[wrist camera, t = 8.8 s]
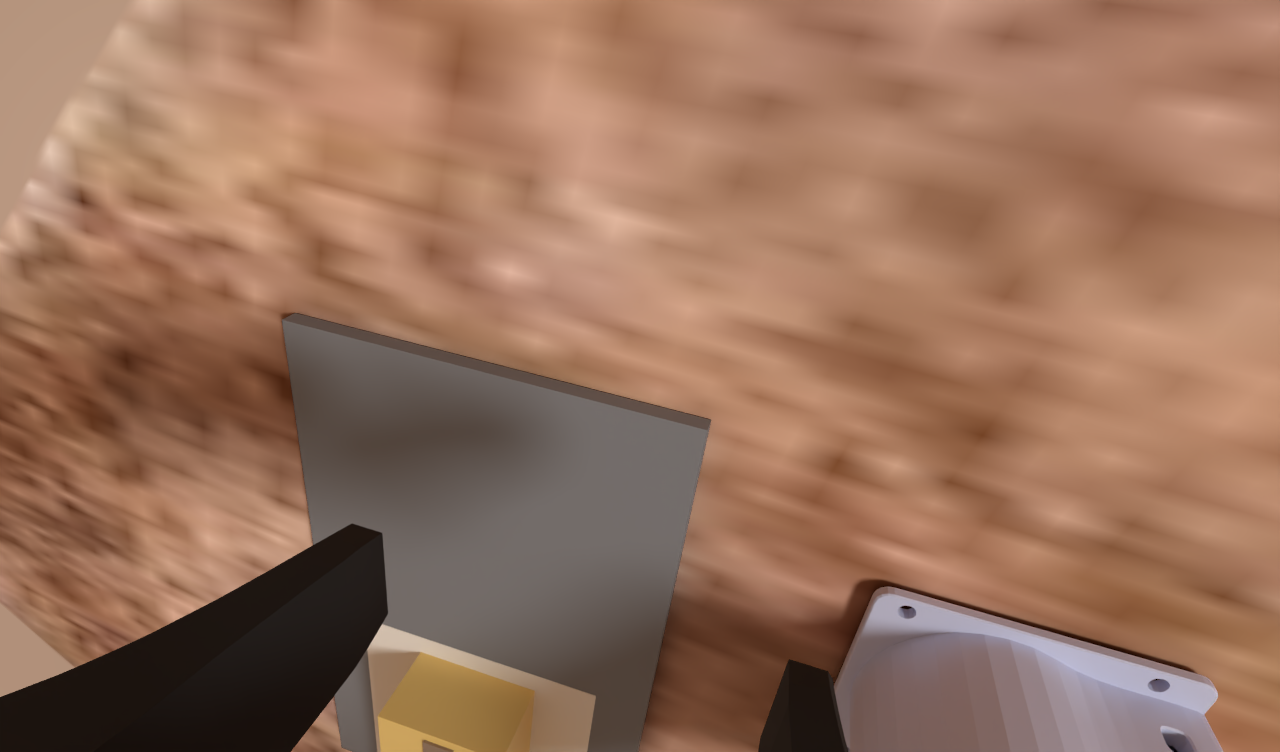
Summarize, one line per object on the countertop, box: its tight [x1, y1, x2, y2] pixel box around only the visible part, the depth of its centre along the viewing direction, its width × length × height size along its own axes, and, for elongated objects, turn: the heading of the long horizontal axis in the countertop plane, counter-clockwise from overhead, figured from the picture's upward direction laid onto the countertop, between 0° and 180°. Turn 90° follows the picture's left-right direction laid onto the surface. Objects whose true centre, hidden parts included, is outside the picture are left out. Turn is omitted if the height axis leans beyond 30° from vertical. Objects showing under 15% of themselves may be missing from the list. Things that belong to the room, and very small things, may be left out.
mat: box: [282, 313, 711, 752], centre depth 26 cm, size 14×23×1 cm, turn 172°
